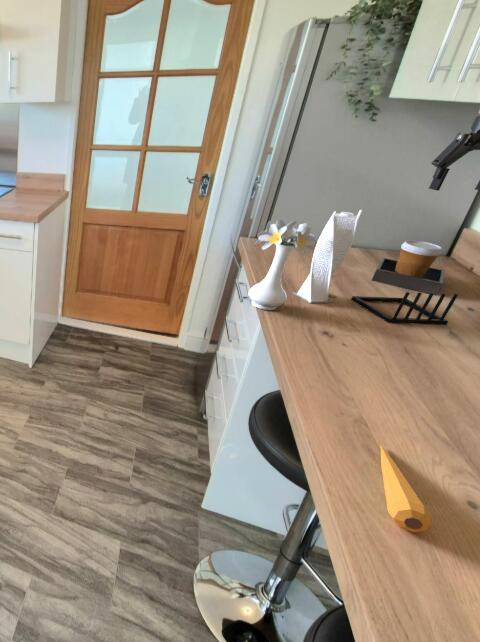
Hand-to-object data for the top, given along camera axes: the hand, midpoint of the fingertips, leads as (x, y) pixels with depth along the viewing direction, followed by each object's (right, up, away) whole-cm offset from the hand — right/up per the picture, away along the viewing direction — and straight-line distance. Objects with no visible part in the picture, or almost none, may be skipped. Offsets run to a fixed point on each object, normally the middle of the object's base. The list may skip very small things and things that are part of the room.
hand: (456, 190), depth 133 cm
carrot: (-83, -65, -64) cm, 123 cm away
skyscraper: (-48, -34, -4) cm, 59 cm away
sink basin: (-8, -28, +8) cm, 30 cm away
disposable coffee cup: (-8, -28, +8) cm, 30 cm away
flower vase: (-66, -36, -7) cm, 75 cm away
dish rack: (-30, -38, -11) cm, 49 cm away
